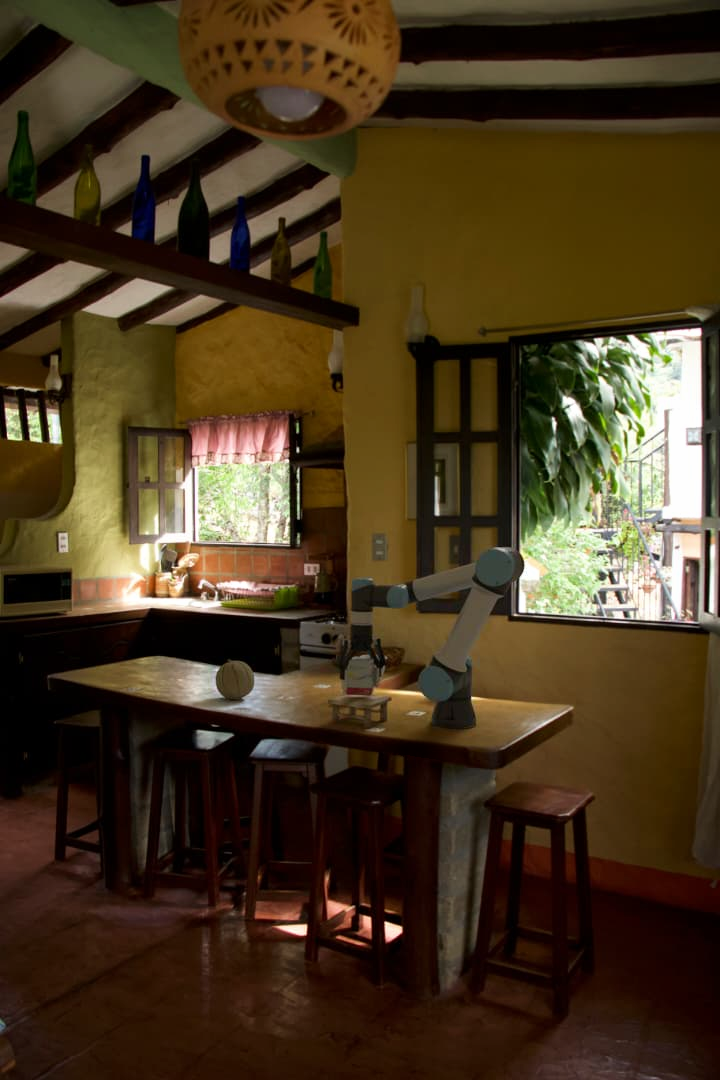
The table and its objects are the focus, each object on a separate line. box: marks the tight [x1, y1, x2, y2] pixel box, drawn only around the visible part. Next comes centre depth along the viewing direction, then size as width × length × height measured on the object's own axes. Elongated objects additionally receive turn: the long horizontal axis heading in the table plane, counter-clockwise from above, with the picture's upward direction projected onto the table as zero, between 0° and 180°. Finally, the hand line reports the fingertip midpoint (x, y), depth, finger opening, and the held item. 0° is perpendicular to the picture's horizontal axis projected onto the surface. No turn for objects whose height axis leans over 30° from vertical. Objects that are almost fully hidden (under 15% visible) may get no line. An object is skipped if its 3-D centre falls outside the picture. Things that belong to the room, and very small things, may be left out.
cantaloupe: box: [215, 658, 255, 701], centre depth 334 cm, size 15×15×15 cm
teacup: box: [359, 654, 388, 681], centre depth 380 cm, size 12×15×10 cm
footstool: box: [327, 693, 393, 729], centre depth 300 cm, size 16×16×8 cm
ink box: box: [346, 656, 375, 696], centre depth 300 cm, size 9×9×12 cm
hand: (360, 688), depth 300 cm, fingers closed on ink box, 11 cm apart
